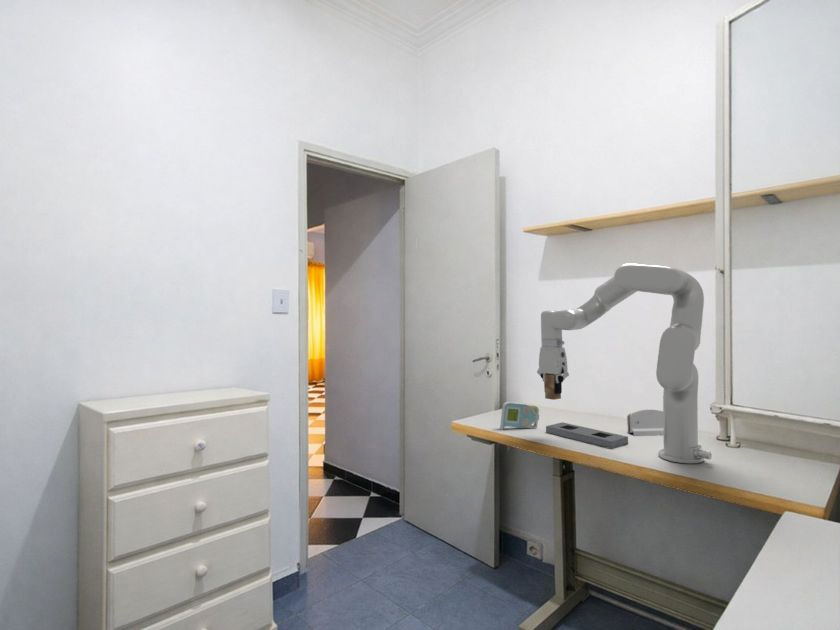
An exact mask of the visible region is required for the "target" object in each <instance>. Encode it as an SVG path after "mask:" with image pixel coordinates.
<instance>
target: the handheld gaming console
mask: <svg viewBox="0 0 840 630" xmlns="http://www.w3.org/2000/svg"><path fill="white" fill-rule="evenodd" d="M501 409H502V410H501V417H500V423H499V424H500V426H499V429H500V428H501V429H503V430H504V428H507V427H509V428H520V429H526V428H528V429H529V428H530V429H538V425H539V424H538V422H539V420H540V419H539V418H540V414H539V413H540V409H539V407H538V406H537V405H533V404H527V403H523V402H514V401H505V402H504V403H503V404H502V408H501ZM501 429H500V430H501Z"/></svg>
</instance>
